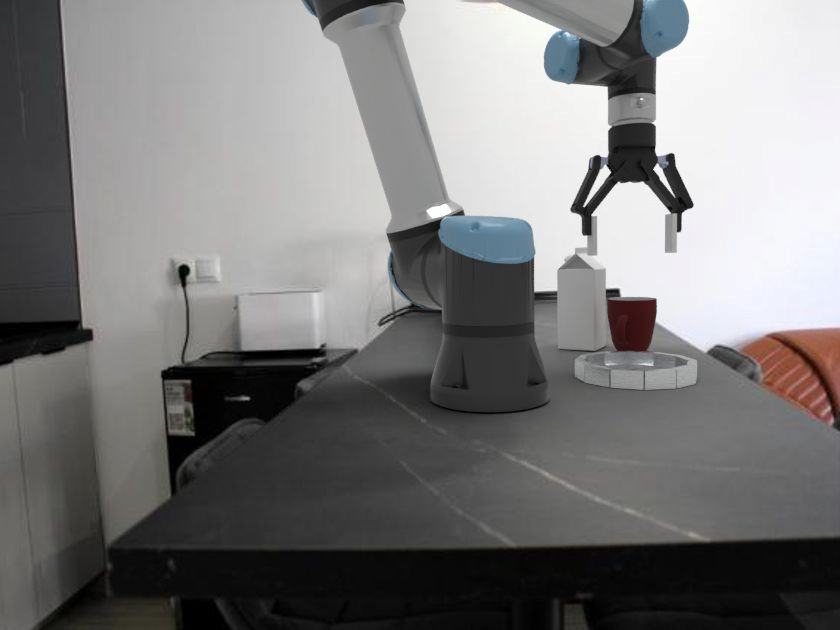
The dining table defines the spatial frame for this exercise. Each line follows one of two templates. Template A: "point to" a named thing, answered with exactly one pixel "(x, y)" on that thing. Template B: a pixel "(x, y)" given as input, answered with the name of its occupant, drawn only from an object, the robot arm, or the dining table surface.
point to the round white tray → (636, 370)
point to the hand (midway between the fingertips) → (631, 254)
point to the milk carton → (581, 302)
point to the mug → (631, 322)
